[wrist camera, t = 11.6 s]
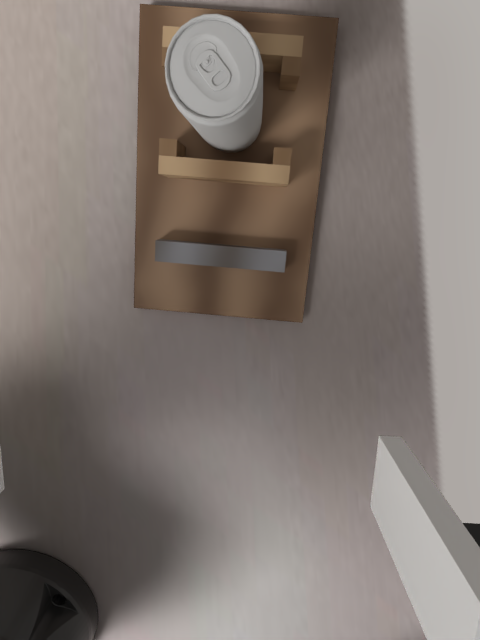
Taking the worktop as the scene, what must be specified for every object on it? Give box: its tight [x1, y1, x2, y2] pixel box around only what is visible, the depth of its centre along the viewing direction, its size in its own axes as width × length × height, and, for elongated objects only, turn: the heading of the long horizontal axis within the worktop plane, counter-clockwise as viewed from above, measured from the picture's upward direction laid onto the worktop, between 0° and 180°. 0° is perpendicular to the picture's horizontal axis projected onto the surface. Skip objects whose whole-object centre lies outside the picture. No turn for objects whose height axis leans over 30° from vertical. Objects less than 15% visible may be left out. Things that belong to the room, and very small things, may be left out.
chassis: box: [134, 4, 339, 323], centre depth 32 cm, size 14×22×5 cm, turn 175°
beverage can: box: [165, 14, 263, 153], centre depth 26 cm, size 5×5×12 cm
